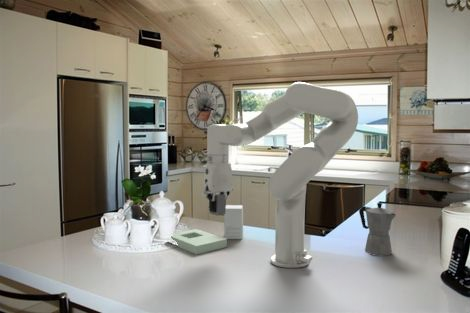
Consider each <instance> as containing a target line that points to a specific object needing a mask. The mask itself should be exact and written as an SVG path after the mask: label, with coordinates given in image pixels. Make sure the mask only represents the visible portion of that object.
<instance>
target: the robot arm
mask: <svg viewBox="0 0 470 313" xmlns="http://www.w3.org/2000/svg"><path fill="white" fill-rule="evenodd" d="M303 114H310V115H314V116H318V117H322V118H326V119H328V120H329V122H327V124H326V125H325V126H324V127H323V128H322V129H321V130H320V131H319V132H318V133H317V134H316V136H314V138H313V139H312V140H311V141H310V142H309V143H307V144H304V145H302V146H299V147H297V148H296V149H295V150H294V151H292V153H291V154H290V155H289V156H288V157H287V158H286V159H285V160H284V161H283V162H282V163H281V165H280V166H278V168H277V169H276V170H275V171H273V173H272V175H270V178H269V180H268V183H267V188H268V192H269V195H270V196H271V197H272V198H273V199H275V200H276V201H275V235H274V236H275V240H274V241H275V244H274V245H275V246H274V247H275V249H274V250H275V251H274V252H275V254H273V255H272V256H270V263H271V264H272V265H275V266H277V267H281V268H287V269H296V268H298V269H299V268H304V267H306V266H307V265H310V264H311V263H312V262H311V261H312V260H313V257H312V256H311V255H308V253H307V250H306V249H305V215H306V214H305V213H306V212H305V211H306V210H305V209H306V195H307V194H306V193H307V184H308V183H309V182H310V181H311V180H312V179H313V178H314V177H315V176H316V175H317V174H319V173H320V172H322V171H323V170H324V169H325V167H326V166H327V165H328V163H330V161H331V160H333V159H334V157H335V156H337V154H338V153H339V152H340V151H341V150H342V148H344V146H345V145H346V144H347V143H348V142H349V140H350V139H351V138H352V137H353V135H354V134H355V132H356V130H357V127H358V123H359V113H358V108H357V105H356V103H355V101H354V99H353V98H352V97H351V96H350V95H349V94H347V93H345V92H343V91H340V90H337V89H333V88H328V87H323V86H319V85H314V84H311V83H308V82H307V83H306V82H302V81H297V82H294V83H292V84H290V85H289V86H287V89H286V91H285V92H284V94H282V95H280V96H278V97H276V98H275V99H273V100H271V101H270V102H268V103H266V104H265V105H264V108H263V110H262V111H261V113H259V114H258V115H256V116H255V117H254V118H251V119H250V120H248V121H246V122H245V123H232V124H231V123H230V124H221V123H220V124H217V123H216V124H213V123H212V124H209V125H208V126H207V128H206V129H207V130H206V132H207V140H206V141H207V142H206V144H207V145H206V148H207V149H206V151H207V152H206V153H207V155H206V156H205V158H204V160H205V161H206V162H207V163H205V165H204V166H205V167H204V174H203V188H202V189H201V195H203V196H204V197H206V199H207V200H208V201H209V202H208V208H209V209H208V210H209V212H210V211H211V212H216V201H215V196H216V193H220V194H224V195H225V210H226V205H227V201H226V200H228V197H229V195H230V194H231V193H232V192H233V190H234V188H233V186H234V185H233V183H234V182H233V181H234V180H233V171H232V169H233V168H232V165H231V163H230V162H229V154H230V153H229V150H230V149H229V148H230V147H229V146H231V147H241V146H248V145H250V144H252V143H254V142H256V141H258V140H260V139H261V138H263V137H265V136H267V135H269V134H270V133H272V132H273V131H275V130H276V129H277V130H278V128H280V127H281V126H283V125H284V124H286V123H288V122H291V121H292V120H294V119H295V118H297V117H299V116H301V115H303Z"/></svg>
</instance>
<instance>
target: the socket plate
mask: <svg viewBox="0 0 470 313" xmlns="http://www.w3.org/2000/svg"><path fill="white" fill-rule="evenodd" d="M174 233H175V234H174V235H173V236H171V238H172V239H173V240H175V241H176V242H177V244H178V248H180V249H182V250H185V251H187V252H190V253H192V254H194V255H199V254H200V255H201V254H204V253H208V252H211V251H216V250H220V249H224V248H227V247H228V239H225V237H222V236H218V235H215V234H214V233H210V232H207V231H204V230H200V229H198V228H193V229H190V230H184V231H179V232H174ZM186 237H187V238H186Z"/></svg>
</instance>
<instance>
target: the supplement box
mask: <svg viewBox="0 0 470 313" xmlns="http://www.w3.org/2000/svg"><path fill="white" fill-rule="evenodd" d="M223 227H224V229H223V232H224V234H223V238H225V239H227V240H243V237H244V206H243V205H241V204H239V205H237V204H236V205H235V204H233V205H232V204H226V210H225V214H224V215H223Z"/></svg>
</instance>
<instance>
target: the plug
mask: <svg viewBox="0 0 470 313" xmlns="http://www.w3.org/2000/svg"><path fill="white" fill-rule="evenodd" d="M215 201H216V212H211V211H209V214H211V215H214V216H224V214H225V195H224V194H220V192H218V193H216V196H215Z"/></svg>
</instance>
